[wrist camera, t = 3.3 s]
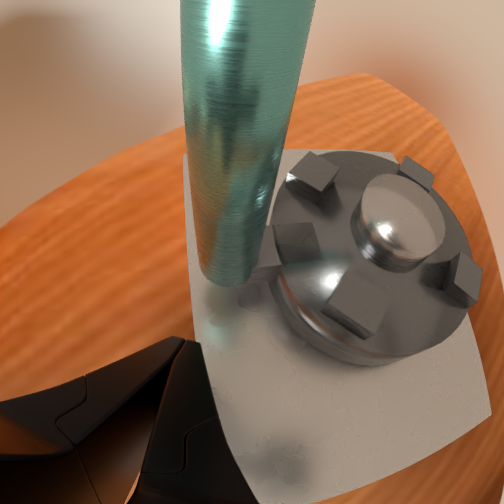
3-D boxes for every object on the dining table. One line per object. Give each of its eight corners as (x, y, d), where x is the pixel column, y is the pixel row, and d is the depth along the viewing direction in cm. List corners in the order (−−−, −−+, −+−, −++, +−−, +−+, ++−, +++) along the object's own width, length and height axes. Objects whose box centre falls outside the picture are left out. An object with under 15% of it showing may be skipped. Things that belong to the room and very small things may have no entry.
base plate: (472, 417, 14) (492, 414, 12) (226, 507, 11) (226, 520, 9) (382, 168, 24) (392, 151, 22) (185, 174, 22) (183, 153, 20)
